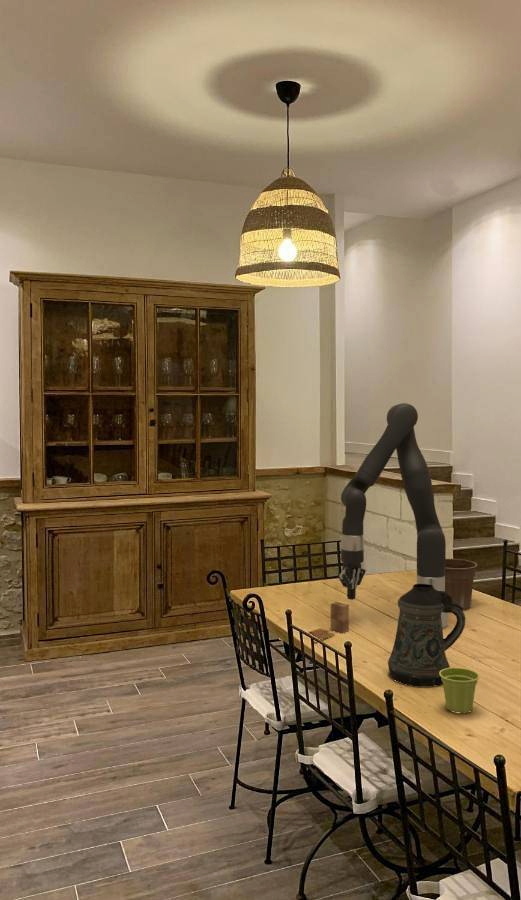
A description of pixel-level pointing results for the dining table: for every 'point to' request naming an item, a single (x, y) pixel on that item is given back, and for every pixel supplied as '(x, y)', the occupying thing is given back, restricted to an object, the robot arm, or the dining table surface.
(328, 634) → the shard
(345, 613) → the walnut slab
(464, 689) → the plant pot
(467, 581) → the plant pot
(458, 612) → the beer stein
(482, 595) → the dining table surface
